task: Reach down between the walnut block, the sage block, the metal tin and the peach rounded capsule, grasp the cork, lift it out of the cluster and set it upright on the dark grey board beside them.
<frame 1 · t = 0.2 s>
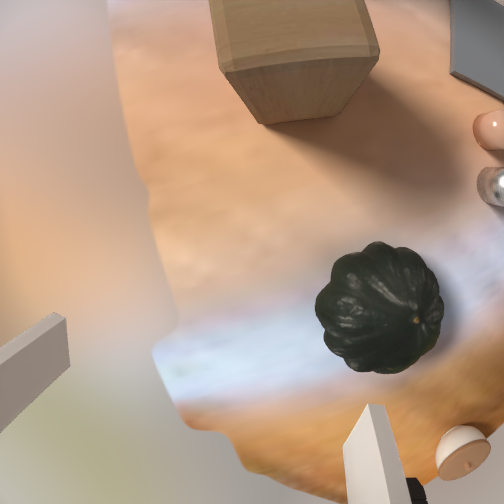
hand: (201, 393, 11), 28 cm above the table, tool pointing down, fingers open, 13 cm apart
metal tin: (490, 185, 32), on the table
squash: (369, 290, 38), on the table
lidded jar: (453, 435, 42), on the table
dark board: (499, 48, 27), on the table
peach rounded capsule: (486, 132, 31), on the table
wooden block: (292, 83, 33), on the table
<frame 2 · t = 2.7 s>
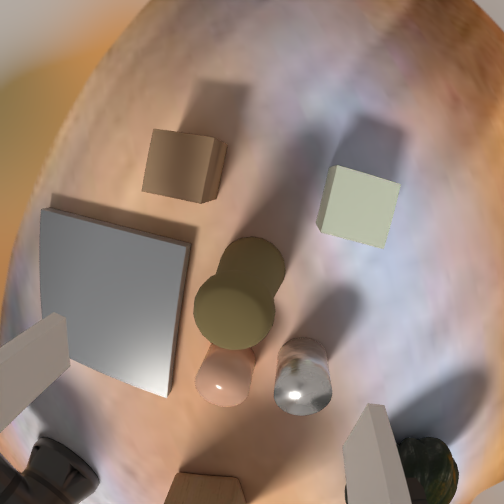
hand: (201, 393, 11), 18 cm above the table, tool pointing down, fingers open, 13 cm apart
metal tin: (302, 358, 30), on the table
squash: (393, 456, 33), on the table
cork: (252, 268, 29), on the table
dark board: (104, 302, 32), on the table
sage block: (349, 202, 26), on the table
peach rounded capsule: (231, 358, 31), on the table
wooden block: (213, 488, 38), on the table
walnut block: (195, 166, 27), on the table
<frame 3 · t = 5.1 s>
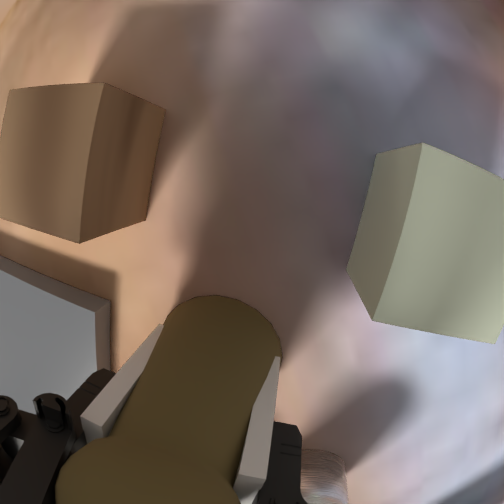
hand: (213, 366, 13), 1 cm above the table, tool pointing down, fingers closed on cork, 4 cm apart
metal tin: (306, 472, 16), on the table
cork: (219, 350, 15), on the table, touching gripper
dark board: (18, 367, 18), on the table
sage block: (414, 227, 12), on the table
walnut block: (109, 158, 13), on the table
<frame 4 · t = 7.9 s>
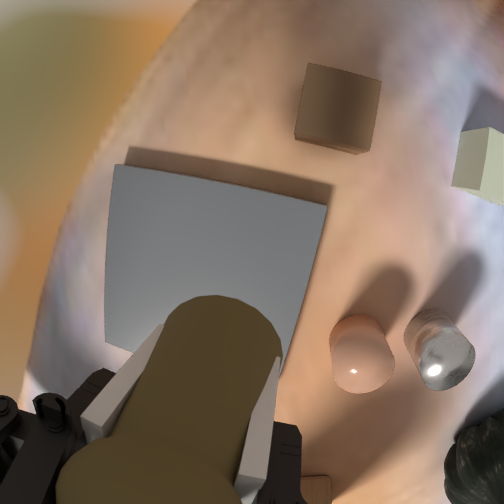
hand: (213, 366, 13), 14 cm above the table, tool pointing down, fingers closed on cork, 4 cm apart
metal tin: (427, 332, 26), on the table
squash: (480, 433, 28), on the table
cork: (220, 350, 15), point 13 cm above the table, touching gripper
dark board: (199, 281, 28), on the table
sage block: (477, 168, 22), on the table
peach rounded capsule: (355, 338, 27), on the table
wooden block: (295, 491, 34), on the table
walnut block: (331, 117, 23), on the table
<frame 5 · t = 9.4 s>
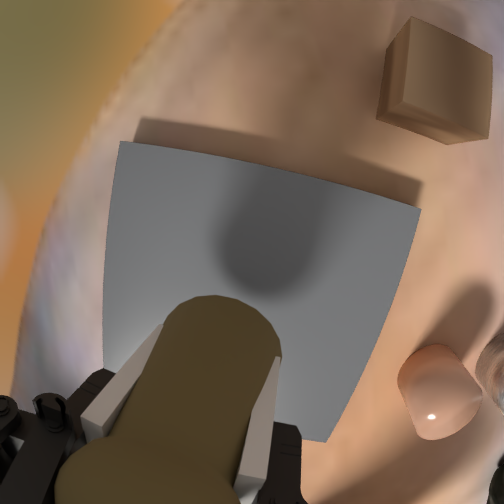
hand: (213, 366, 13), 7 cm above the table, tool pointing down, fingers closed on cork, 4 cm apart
metal tin: (498, 358, 19), on the table
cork: (219, 350, 15), point 6 cm above the table, touching gripper
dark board: (237, 307, 20), on the table
peach rounded capsule: (427, 372, 20), on the table
walnut block: (418, 95, 16), on the table
when the fingers open (4 cm above the table, at t = 10.6 s): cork stays where it is, resting on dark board.
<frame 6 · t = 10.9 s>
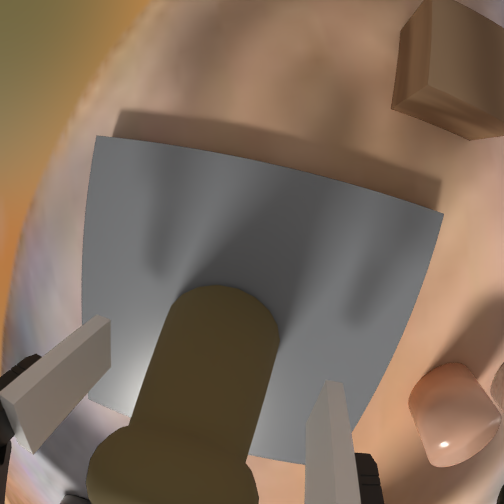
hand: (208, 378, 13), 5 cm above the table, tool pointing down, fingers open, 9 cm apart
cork: (221, 336, 16), point 2 cm above the table, touching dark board
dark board: (230, 325, 17), on the table
peach rounded capsule: (440, 392, 17), on the table
walnut block: (437, 83, 13), on the table
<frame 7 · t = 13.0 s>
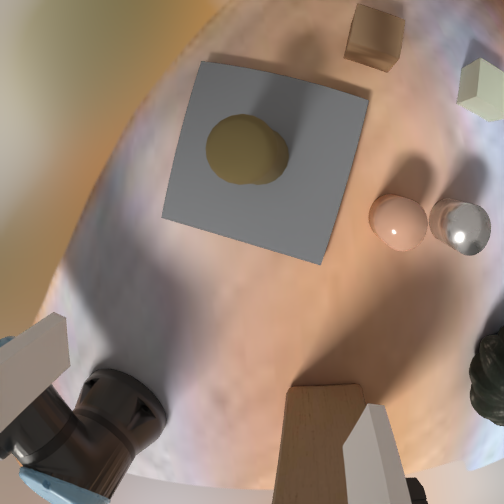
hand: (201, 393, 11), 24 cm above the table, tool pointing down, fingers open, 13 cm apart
metal tin: (447, 220, 30), on the table
squash: (497, 351, 33), on the table
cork: (259, 155, 31), point 1 cm above the table, touching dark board
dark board: (262, 157, 32), on the table
sage block: (475, 95, 26), on the table
peach rounded capsule: (390, 217, 32), on the table
wooden block: (323, 408, 39), on the table
walnut block: (369, 47, 27), on the table
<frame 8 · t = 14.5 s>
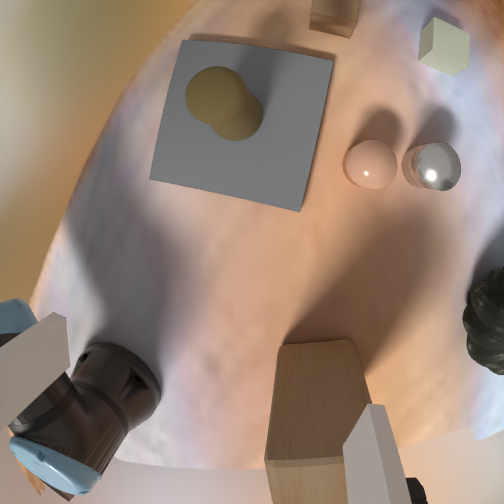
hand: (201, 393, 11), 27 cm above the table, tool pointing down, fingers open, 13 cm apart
metal tin: (420, 166, 32), on the table
squash: (490, 303, 35), on the table
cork: (236, 115, 33), point 1 cm above the table, touching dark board
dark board: (240, 118, 34), on the table
sage block: (436, 53, 28), on the table
peach rounded capsule: (363, 165, 34), on the table
wooden block: (317, 369, 41), on the table
walnut block: (332, 18, 29), on the table
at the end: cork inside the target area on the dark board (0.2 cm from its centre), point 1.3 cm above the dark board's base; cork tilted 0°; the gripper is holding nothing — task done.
